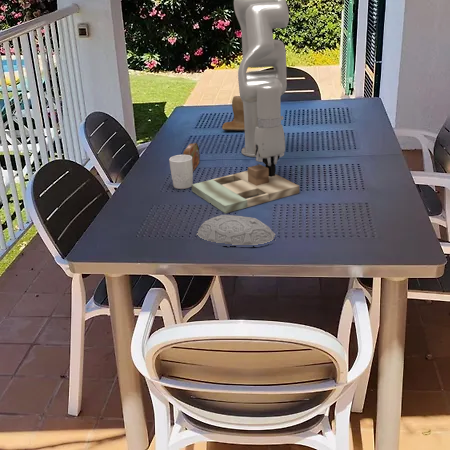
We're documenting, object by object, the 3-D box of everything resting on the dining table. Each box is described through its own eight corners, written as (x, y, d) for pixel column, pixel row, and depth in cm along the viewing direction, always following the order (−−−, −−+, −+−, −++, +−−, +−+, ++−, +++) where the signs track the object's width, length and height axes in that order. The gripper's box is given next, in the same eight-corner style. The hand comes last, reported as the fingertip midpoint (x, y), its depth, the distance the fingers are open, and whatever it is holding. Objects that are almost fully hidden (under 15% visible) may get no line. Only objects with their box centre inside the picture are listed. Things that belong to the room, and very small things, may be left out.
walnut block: (260, 178, 205) (260, 164, 202) (268, 182, 201) (268, 168, 198) (248, 181, 202) (247, 167, 200) (256, 185, 198) (255, 171, 196)
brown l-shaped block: (259, 125, 274) (258, 92, 268) (255, 133, 263) (254, 99, 257) (226, 125, 277) (224, 93, 271) (222, 133, 266) (220, 99, 260)
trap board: (261, 173, 216) (261, 167, 215) (299, 192, 197) (299, 185, 196) (192, 191, 204) (191, 184, 203) (225, 213, 185) (224, 206, 184)
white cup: (177, 191, 205) (174, 163, 201) (168, 184, 211) (165, 157, 207) (198, 186, 208) (195, 158, 204) (188, 179, 214) (186, 153, 210)
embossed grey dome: (205, 219, 182) (204, 199, 178) (285, 231, 174) (285, 211, 170) (184, 246, 170) (183, 225, 166) (269, 261, 162) (269, 240, 158)
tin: (191, 174, 219) (189, 152, 216) (182, 174, 220) (180, 152, 216) (200, 161, 233) (199, 140, 229) (193, 161, 233) (191, 140, 230)
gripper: (281, 116, 202) (282, 167, 209) (243, 123, 195) (246, 177, 203) (294, 120, 196) (295, 173, 203) (256, 128, 189) (258, 183, 197)
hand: (270, 175), depth 203 cm, fingers closed
